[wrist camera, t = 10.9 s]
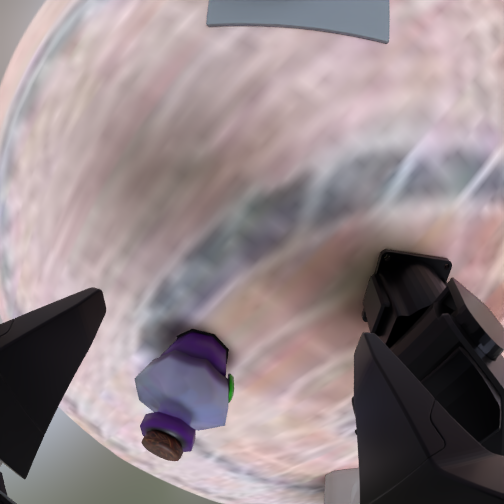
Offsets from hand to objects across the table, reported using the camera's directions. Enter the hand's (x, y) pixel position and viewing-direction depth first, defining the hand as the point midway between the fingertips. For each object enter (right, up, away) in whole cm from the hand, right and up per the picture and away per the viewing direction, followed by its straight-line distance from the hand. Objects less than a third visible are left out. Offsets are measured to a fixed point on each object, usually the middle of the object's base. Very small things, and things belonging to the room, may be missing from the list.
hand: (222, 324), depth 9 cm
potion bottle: (-4, -7, +19) cm, 21 cm away
